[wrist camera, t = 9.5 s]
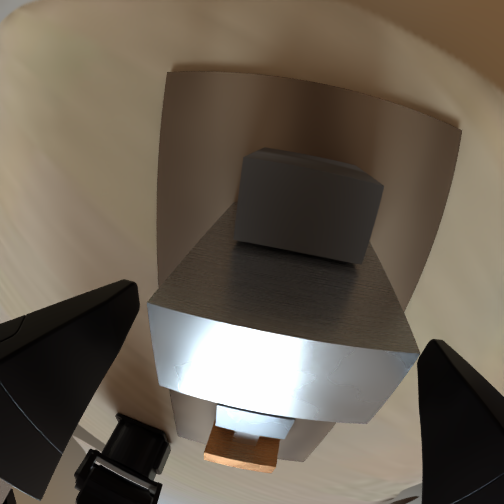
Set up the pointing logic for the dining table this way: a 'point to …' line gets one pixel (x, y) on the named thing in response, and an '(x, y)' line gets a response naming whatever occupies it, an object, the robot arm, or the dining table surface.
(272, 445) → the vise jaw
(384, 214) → the base
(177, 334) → the steel slab
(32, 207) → the dining table surface
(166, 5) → the dining table surface
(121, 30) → the dining table surface
